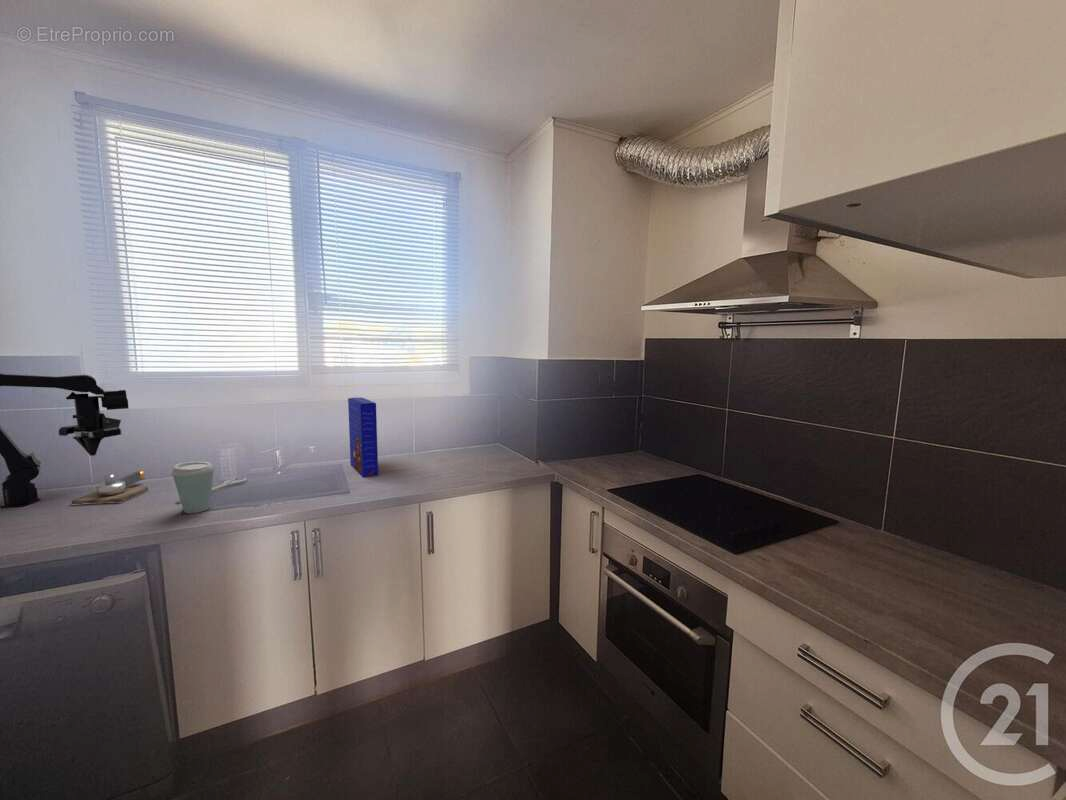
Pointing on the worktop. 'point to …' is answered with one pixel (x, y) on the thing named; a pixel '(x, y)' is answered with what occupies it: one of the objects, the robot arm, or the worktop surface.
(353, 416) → the cereal box
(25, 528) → the worktop surface
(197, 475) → the disposable coffee cup
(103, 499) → the block
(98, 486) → the amber-knobbed lever
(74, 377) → the robot arm
